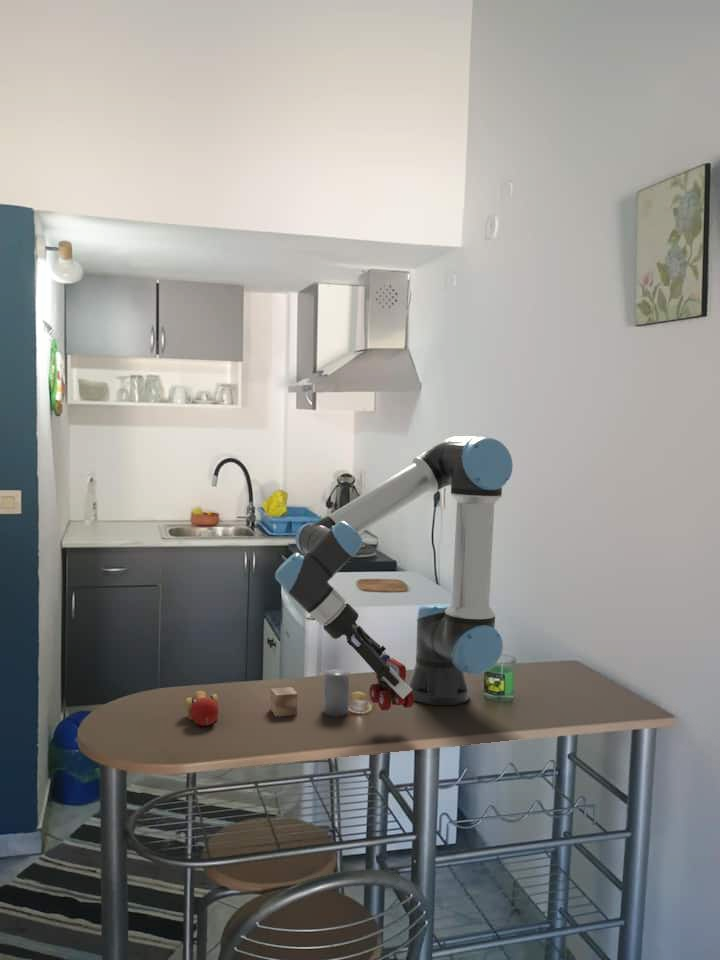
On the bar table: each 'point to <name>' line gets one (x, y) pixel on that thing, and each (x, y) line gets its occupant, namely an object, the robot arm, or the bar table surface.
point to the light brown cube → (283, 701)
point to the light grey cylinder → (336, 692)
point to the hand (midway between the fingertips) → (403, 685)
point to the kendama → (203, 708)
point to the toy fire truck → (390, 688)
